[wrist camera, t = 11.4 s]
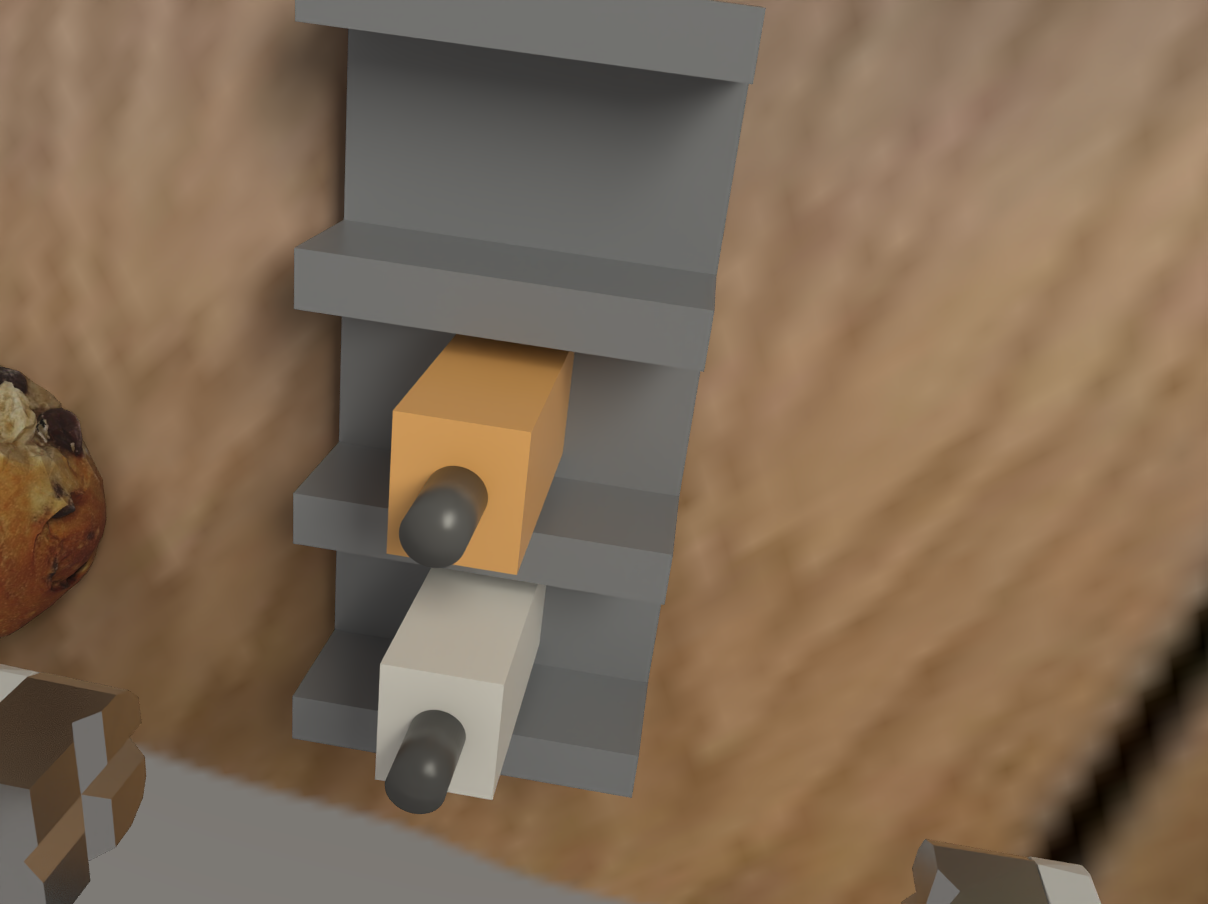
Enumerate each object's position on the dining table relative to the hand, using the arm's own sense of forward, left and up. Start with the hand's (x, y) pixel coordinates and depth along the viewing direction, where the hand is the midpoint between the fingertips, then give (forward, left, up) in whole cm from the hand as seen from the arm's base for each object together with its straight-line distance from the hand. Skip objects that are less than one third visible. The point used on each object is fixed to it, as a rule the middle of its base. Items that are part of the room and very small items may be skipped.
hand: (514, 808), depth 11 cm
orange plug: (+3, +3, -19) cm, 20 cm away
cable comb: (+3, +3, -20) cm, 20 cm away
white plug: (+3, +9, -19) cm, 21 cm away
